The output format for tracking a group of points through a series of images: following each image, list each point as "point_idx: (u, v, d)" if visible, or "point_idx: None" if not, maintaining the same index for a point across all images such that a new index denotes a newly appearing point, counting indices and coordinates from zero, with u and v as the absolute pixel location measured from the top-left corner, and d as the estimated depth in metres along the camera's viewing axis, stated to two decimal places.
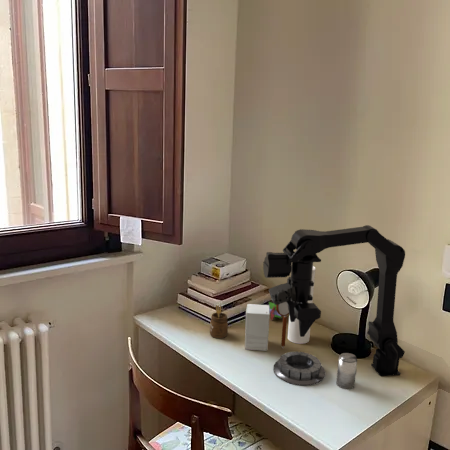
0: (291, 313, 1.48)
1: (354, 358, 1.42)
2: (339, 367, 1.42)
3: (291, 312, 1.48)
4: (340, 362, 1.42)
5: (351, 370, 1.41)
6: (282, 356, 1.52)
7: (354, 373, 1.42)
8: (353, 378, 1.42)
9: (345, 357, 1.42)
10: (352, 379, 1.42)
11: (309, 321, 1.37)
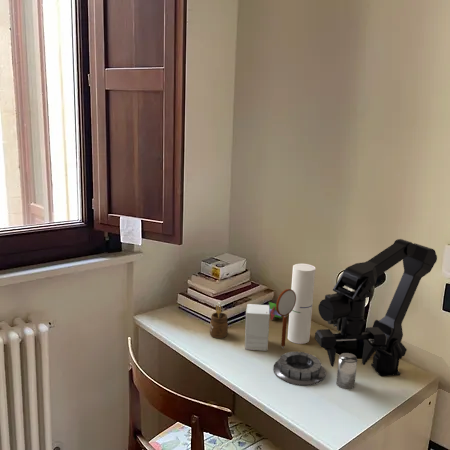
0: (363, 354, 1.44)
1: (354, 358, 1.42)
2: (339, 367, 1.42)
3: (363, 353, 1.43)
4: (340, 362, 1.42)
5: (351, 370, 1.41)
6: (282, 356, 1.52)
7: (354, 373, 1.42)
8: (353, 378, 1.42)
9: (345, 357, 1.42)
10: (352, 379, 1.42)
11: None
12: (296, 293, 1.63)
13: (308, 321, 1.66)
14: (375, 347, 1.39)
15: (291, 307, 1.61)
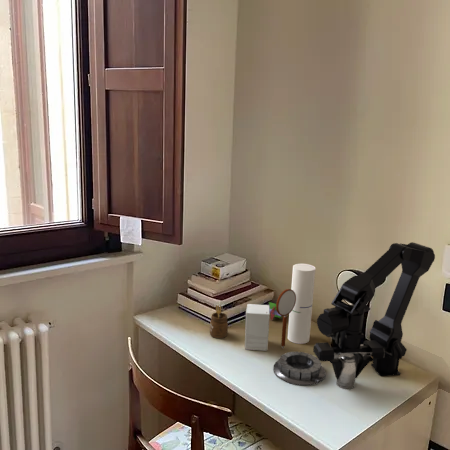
0: None
1: (354, 358, 1.42)
2: None
3: None
4: None
5: (351, 370, 1.41)
6: (282, 356, 1.52)
7: (354, 373, 1.42)
8: (353, 378, 1.42)
9: (345, 357, 1.42)
10: (352, 379, 1.42)
11: None
12: (296, 293, 1.63)
13: (308, 321, 1.66)
14: (367, 361, 1.40)
15: (291, 307, 1.61)
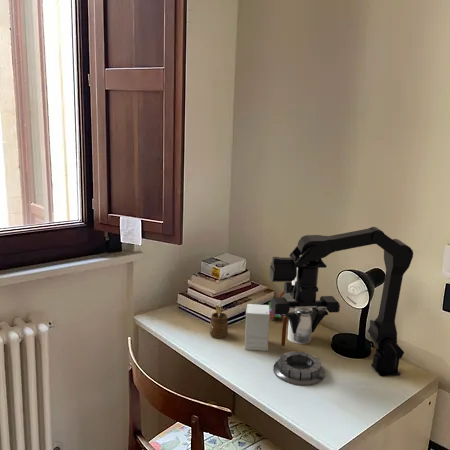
0: None
1: (310, 312, 1.45)
2: None
3: None
4: None
5: (306, 324, 1.44)
6: (282, 356, 1.52)
7: (310, 327, 1.45)
8: (309, 332, 1.45)
9: (301, 312, 1.45)
10: (308, 333, 1.45)
11: None
12: None
13: None
14: (322, 314, 1.43)
15: None
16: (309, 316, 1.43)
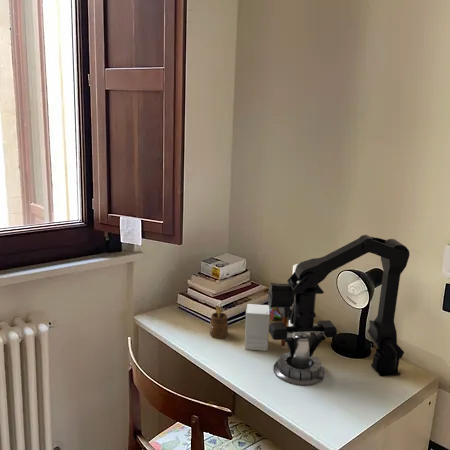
0: None
1: (308, 337, 1.47)
2: None
3: None
4: (294, 341, 1.47)
5: (304, 349, 1.46)
6: (282, 356, 1.52)
7: (308, 352, 1.47)
8: (307, 356, 1.47)
9: (299, 336, 1.47)
10: (306, 357, 1.47)
11: None
12: None
13: None
14: (319, 339, 1.45)
15: (291, 307, 1.61)
16: (307, 341, 1.45)
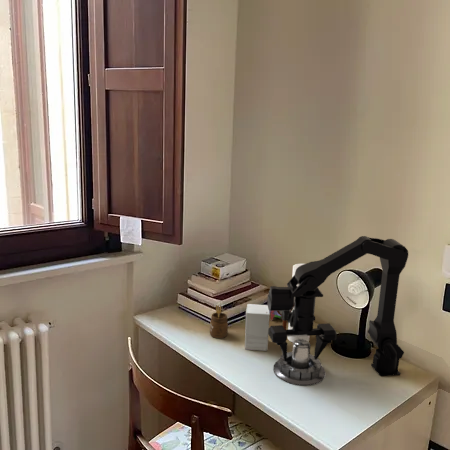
0: (315, 350, 1.50)
1: (307, 344, 1.47)
2: (293, 353, 1.48)
3: (315, 349, 1.50)
4: (294, 348, 1.47)
5: (304, 355, 1.46)
6: (282, 356, 1.52)
7: (307, 358, 1.47)
8: (306, 363, 1.47)
9: (298, 343, 1.47)
10: (305, 364, 1.47)
11: None
12: None
13: None
14: (325, 342, 1.46)
15: None
16: (306, 348, 1.46)
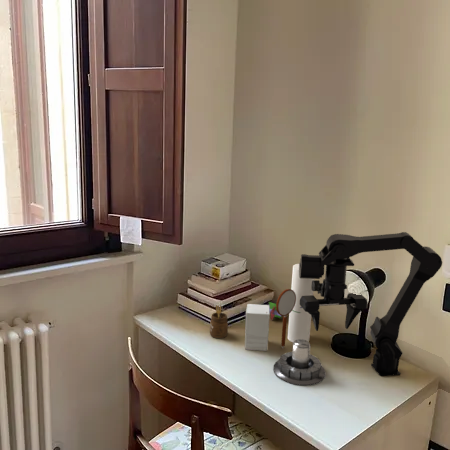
0: (346, 319, 1.51)
1: (307, 344, 1.47)
2: (293, 353, 1.48)
3: (346, 318, 1.51)
4: (294, 348, 1.47)
5: (304, 355, 1.46)
6: (282, 356, 1.52)
7: (307, 358, 1.47)
8: (306, 363, 1.47)
9: (298, 343, 1.47)
10: (305, 364, 1.47)
11: None
12: (296, 293, 1.63)
13: (308, 321, 1.66)
14: (357, 310, 1.47)
15: (291, 307, 1.61)
16: (306, 348, 1.46)
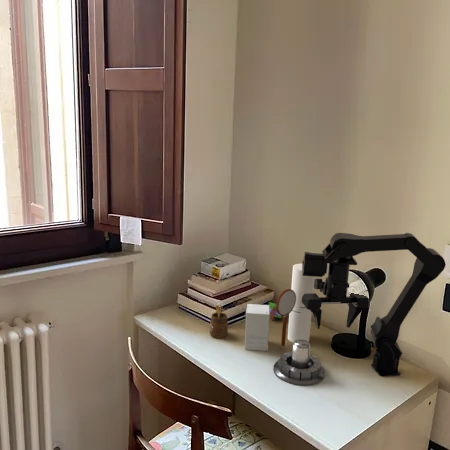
0: (347, 318, 1.51)
1: (307, 344, 1.47)
2: (293, 353, 1.48)
3: (348, 317, 1.51)
4: (294, 348, 1.47)
5: (304, 355, 1.46)
6: (282, 356, 1.52)
7: (307, 358, 1.47)
8: (306, 363, 1.47)
9: (298, 343, 1.47)
10: (305, 364, 1.47)
11: None
12: (296, 293, 1.63)
13: (308, 321, 1.66)
14: (359, 310, 1.47)
15: (291, 307, 1.61)
16: (306, 348, 1.46)
